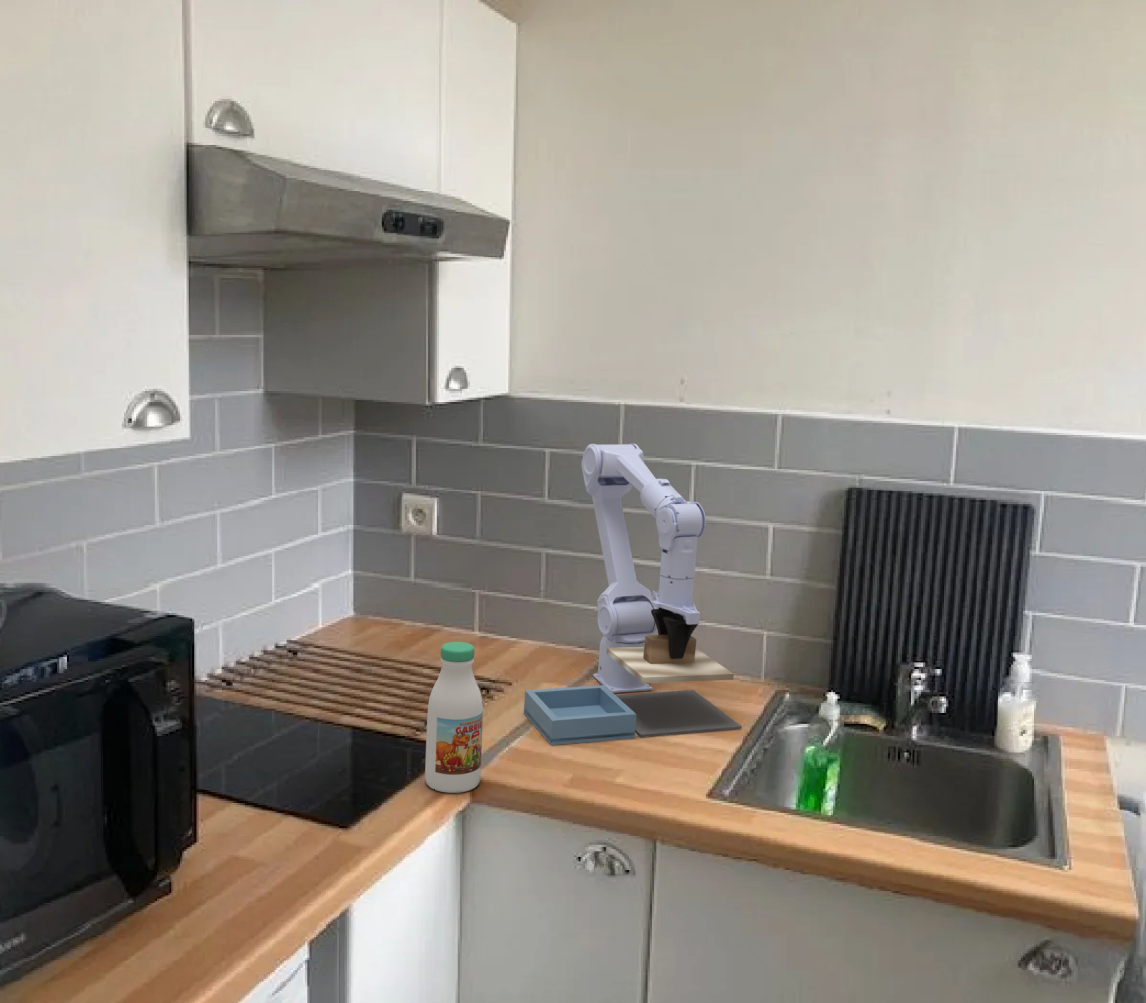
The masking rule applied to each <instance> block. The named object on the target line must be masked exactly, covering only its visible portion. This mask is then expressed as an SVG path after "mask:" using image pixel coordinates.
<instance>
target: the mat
mask: <svg viewBox="0 0 1146 1003" xmlns="http://www.w3.org/2000/svg"><path fill="white" fill-rule="evenodd" d="M615 695H616V694H615ZM616 696H617V697H618V698H619V699H620V700H621V701H622V702H623V703H625V704H626V705H627V706H628V707H629V708H630V709H631V710H632V711H633V712H635V713H636V727H635V735H637V736H638V737H639V738H640V739H641V738H652V737H665V736H677V735H687V734H699V733H709V732H710V733H712V732H722V731H723V732H726V731H735V730H742V725H741V724H740V723H738V722H737V721H736V720H734V719H733V718H732V717H730V716H729V715H728V714H727V713H725V712H724V711H723V710H721V709H720V708H718V707H717V706H716V705H714V704H713V703H712V702H710V700H708V699H707V698H705V697H704V696H703V695H702V694H700V693H699V692H698V691H696V690H695V689H684V690H671V691H659V692H658V691H655V692H643V693H641V692H640V693H632V694H631V693H630V694H628V693H627V694H617V695H616Z"/></svg>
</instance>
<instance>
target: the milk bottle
mask: <svg viewBox="0 0 1146 1003" xmlns="http://www.w3.org/2000/svg"><path fill="white" fill-rule="evenodd" d="M474 659H475V647H474V645H472V644H471V643H468V642H463V641H451V642H450V641H449V642H446V643H443V644H442V645H441V648H440V662H441V669H440V672H439V675H438V678H437V679H436V682H435V683H434V686H433V688H432V690H431V692H430V695H429V699H428V700H429V701H428V704H427V705H428V706H427V718H426V720H427V721H426V737H425V738H426V740H425V742H426V743H425V765H424V766H425V769H424V770H425V771H424V775H425V776H424V778H425V779H424V781H425V783H426V785H427V786H428V787H429V788H431V789H432V790H434V789H435V791H437V792H440V793H441V792H442V793H447V794H448V793H449V794H452V793H453V794H459V793H464V792H468V791H471V790H474V789H475V788H476V787H477V786H478V785H479V784H480V781H481V772H482V770H481V768H482V751H483V750H482V748H483V746H482V745H483V744H482V743H483V722H484V721H483V718H484V716H483V710H484V709H483V706H484V705H483V698H482V693H481V691H480V687H479V685H478V683H477V681H476V678H475V674H474V671H473V663H474V662H475V660H474Z"/></svg>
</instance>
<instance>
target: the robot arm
mask: <svg viewBox="0 0 1146 1003" xmlns="http://www.w3.org/2000/svg"><path fill="white" fill-rule="evenodd" d="M582 455H583V456H582V460H581V471H582V475H583V476H582V477H583V480H584V485H585V490H586V493H588V494H589V495H590V496H591V499H592V503H593V504H592V505H593V509H594V515H595V519H596V525H597V531H598V535H599V540H600V546H601V552H602V556H603V557H602V559H603V563H604V568H605V573H606V574H605V575H606V579H607V583H608V586H607V588H606V589H605V590H604V591H603V592H602V593H601V594H599V597H598V599H597V600H596V602H597V618H596V619H597V625H598V628H599V631H600V633H601V635H603V636H602V638H601V640H600V641H599V653H598V670H597V673H593V674H592V676H593V678H594V679H595V680H597V681H598V682H599V683H600V684H601V685H605V686H606V687H607V688H608V689H609V690H610V691H611V692H612V693H613V694H616V693H617V694H618V693H631V692H642V691H643V692H645V691H647V692H648V691H652V690H653V687H652V686H651V685H650V683H644V684H643V683H642V682H640V681H639V680H638V679H637V678H636V677H634V676H633V675H632V674H631V673H629V672H628V671H627V670H626V669H625V668H623V667H622V666H621V665H620V664H619V663H617V662H616V661H615V660H614V659H612V658H611V657H610V656H609V655H608V654H606V652H607V648H619V647H644V643H645V635H652V634H654V633H655V632H656V630H657V633H658V634H657V635H668V639H669V655H670V658H671V659H681V658H683V656H684V653H685V650H686V647H687V644H688V641H689V639H690V636H692V634H693V632H694V631H695V629H696V628H697V627H698V626H699V625H700V621H701V620H700V619H701V616H700V615H701V613H700V611H698V610H697V607H696V605H695V602H694V592H695V591H694V590H695V577H696V566H697V565H696V564H697V562H696V561H697V548H698V538H700V537H702V536H703V534H704V532H705V530H706V527H707V526H706V525H707V518H706V512H705V510H704V508H703V507H702V505H701V504H700V503H699V502H697V501H687V500H685V498H684V497H683V496H682V495H681V494H680V493H679V492H678V491H677V490H676V489H675V488H674V487H673V486H672V485H671V482H670V480H668V479H667V478H656V477H655V476H654V474H653V473H652V471H651V470H650V469H649V468H648V466H647V465H646V464H645V457H644V451H643V450H642V449H640V447H639V445H638V444H636V443H629V444H628V443H627V444H625V443H623V444H618V443H617V444H596V443H590V444H588V445H587V446H586V448H584V452H583V454H582ZM632 488H634V489H636V490H637V491H638V492H639V493H640V496H639V497H640V502H641V504H642V505H643V507H644V508H645V509H646V510H647V511H648V512H649V513H650V514H651V515H652V517H653V518H654V519H655V522H656V523H655V524H656V529H657V533H658V545H659V547H660V548H661V556H660V571H659V585H658V590H652V592H651V590H650V589H648V588H647V587H646V586H644V585H643V584H641V583H640V582H639V581H638V579H637V574H636V570H635V564H634V559H633V554H632V550H631V549H632V548H631V545H630V539H629V533H628V529H627V524H626V519H625V514H624V508H623V502H622V498H623V496H624V495H626V494H628V493H629V492H630V491H631V490H632Z"/></svg>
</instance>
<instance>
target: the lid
mask: <svg viewBox="0 0 1146 1003" xmlns="http://www.w3.org/2000/svg"><path fill="white" fill-rule="evenodd" d="M696 647H697V639H696V638H695V637H693V635H691V636H690V639H689V641H688V644H687V647H686V650H685V653H684V656H683V658H681V659H671V658H670V655H669V639H668V635H658V634H653V635H652V634H651V635H645V643H644V647H619V648H607V652H606V654H608V655H609V656H610V657H611V658H612V659H614V660H615V661H616V662H617V663H619V664H620V665H621V666H622V667H623V668H625V669H626V670H627V671H628V672H629V673H631V674H632V675H633V676H634V677H636V678H637V679H638V680H639V681H640V682H642V683H643V684H644V683H648V684H661V683H663V684H665V683H688V682H708V681H709V682H710V681H712V682H713V681H715V682H716V681H733V680H734V676H735V674H734V673H733V672H732V671H730V670H729V669H727V668H726V667H724V666H723V665H722V664H720V663H718V662H717V661H715V660H714V659H712V658H711V657H709V656H708V655H707V654H705V653H704V652H703V651H701V650H700V649H698V648H696Z"/></svg>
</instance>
